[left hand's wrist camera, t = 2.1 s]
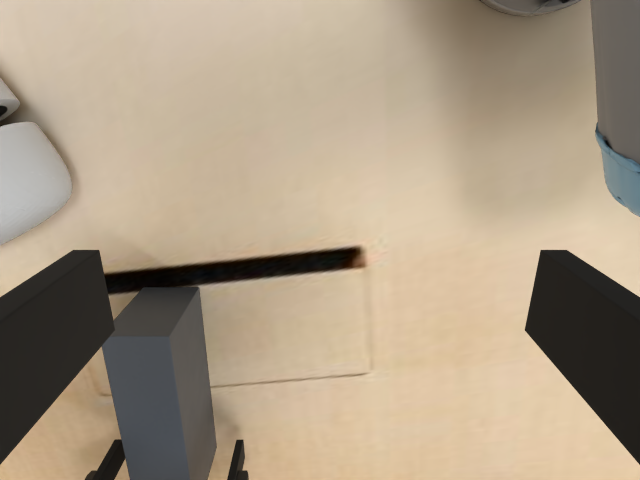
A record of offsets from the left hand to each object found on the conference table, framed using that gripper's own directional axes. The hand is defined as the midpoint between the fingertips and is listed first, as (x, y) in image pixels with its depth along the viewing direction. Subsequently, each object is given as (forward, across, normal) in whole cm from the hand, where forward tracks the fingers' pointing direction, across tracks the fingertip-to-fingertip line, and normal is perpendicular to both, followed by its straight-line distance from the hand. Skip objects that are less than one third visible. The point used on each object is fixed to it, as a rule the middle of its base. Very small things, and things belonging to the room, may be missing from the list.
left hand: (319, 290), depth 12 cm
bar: (+28, -16, -25) cm, 40 cm away
